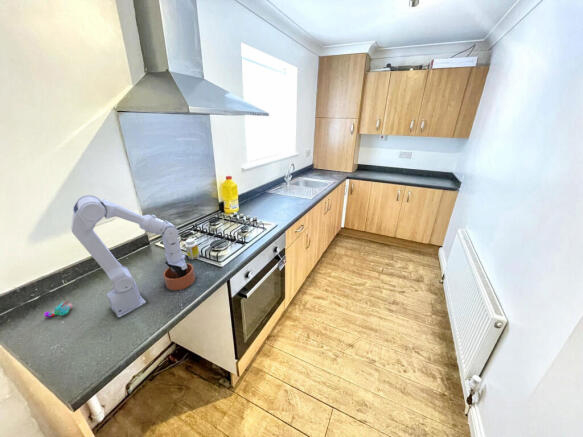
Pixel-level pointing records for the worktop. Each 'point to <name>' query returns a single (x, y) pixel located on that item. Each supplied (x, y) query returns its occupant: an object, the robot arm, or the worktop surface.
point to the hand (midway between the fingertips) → (179, 276)
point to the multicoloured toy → (63, 310)
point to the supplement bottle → (192, 248)
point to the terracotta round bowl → (179, 279)
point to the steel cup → (174, 272)
